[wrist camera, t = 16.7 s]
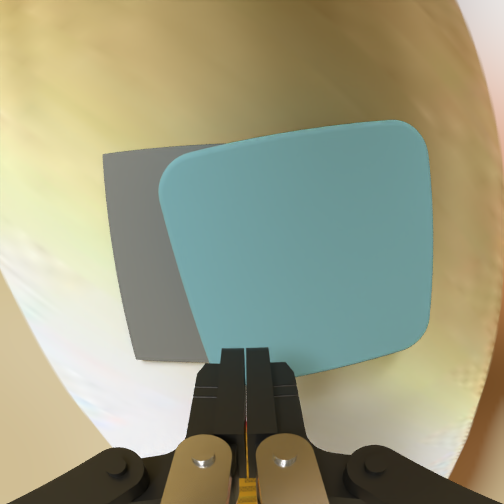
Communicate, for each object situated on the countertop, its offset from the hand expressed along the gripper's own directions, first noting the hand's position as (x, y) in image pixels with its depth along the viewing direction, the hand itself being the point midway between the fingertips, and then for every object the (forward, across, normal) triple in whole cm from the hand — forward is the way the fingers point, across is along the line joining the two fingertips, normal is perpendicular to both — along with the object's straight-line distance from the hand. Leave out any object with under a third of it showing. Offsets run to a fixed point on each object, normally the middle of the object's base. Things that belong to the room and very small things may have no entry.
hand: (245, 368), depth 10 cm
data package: (+7, +3, 0) cm, 7 cm away
